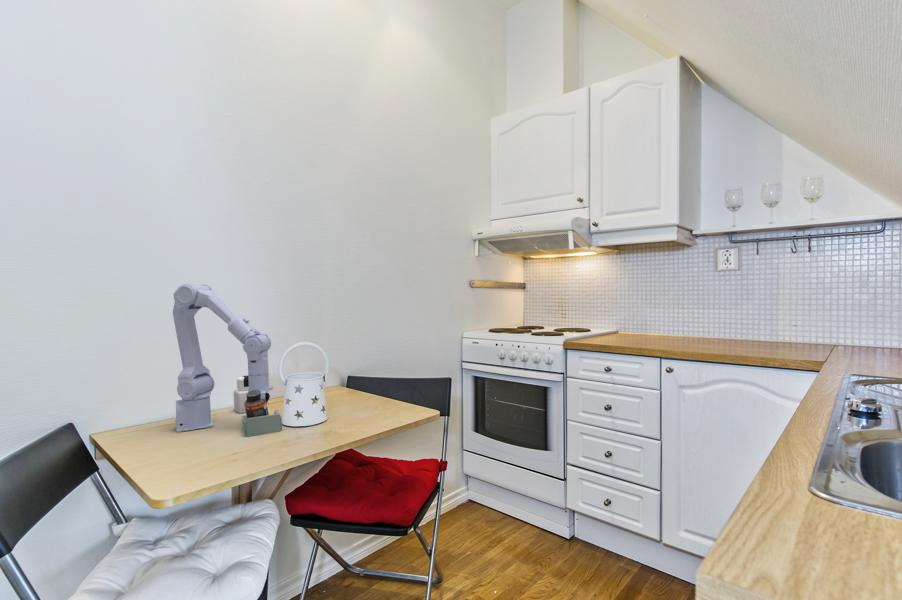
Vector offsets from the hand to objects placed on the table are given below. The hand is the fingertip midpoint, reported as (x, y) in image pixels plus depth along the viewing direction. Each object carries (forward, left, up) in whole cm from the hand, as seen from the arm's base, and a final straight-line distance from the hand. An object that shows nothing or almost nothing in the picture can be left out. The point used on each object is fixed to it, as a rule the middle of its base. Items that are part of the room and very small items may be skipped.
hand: (260, 418), depth 138 cm
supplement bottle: (0, -4, -2) cm, 4 cm away
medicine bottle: (-2, +24, -3) cm, 25 cm away
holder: (0, -5, -2) cm, 5 cm away
